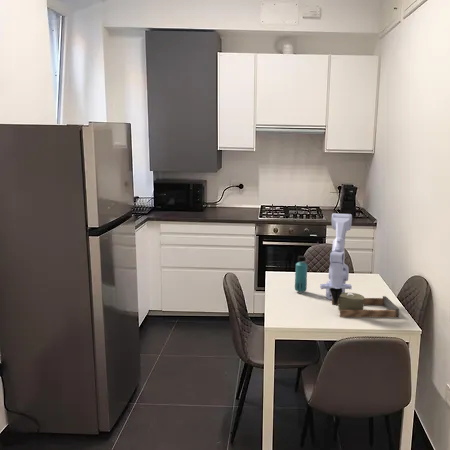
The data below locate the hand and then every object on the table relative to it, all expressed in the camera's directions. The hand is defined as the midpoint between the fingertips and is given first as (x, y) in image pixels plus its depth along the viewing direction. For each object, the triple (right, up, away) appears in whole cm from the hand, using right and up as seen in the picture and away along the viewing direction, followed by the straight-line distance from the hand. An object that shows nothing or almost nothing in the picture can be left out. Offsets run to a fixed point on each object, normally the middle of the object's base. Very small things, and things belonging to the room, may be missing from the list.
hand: (335, 303), depth 218 cm
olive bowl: (+8, -4, +1) cm, 9 cm away
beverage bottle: (-12, +1, +26) cm, 29 cm away
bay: (+14, -3, +1) cm, 15 cm away
